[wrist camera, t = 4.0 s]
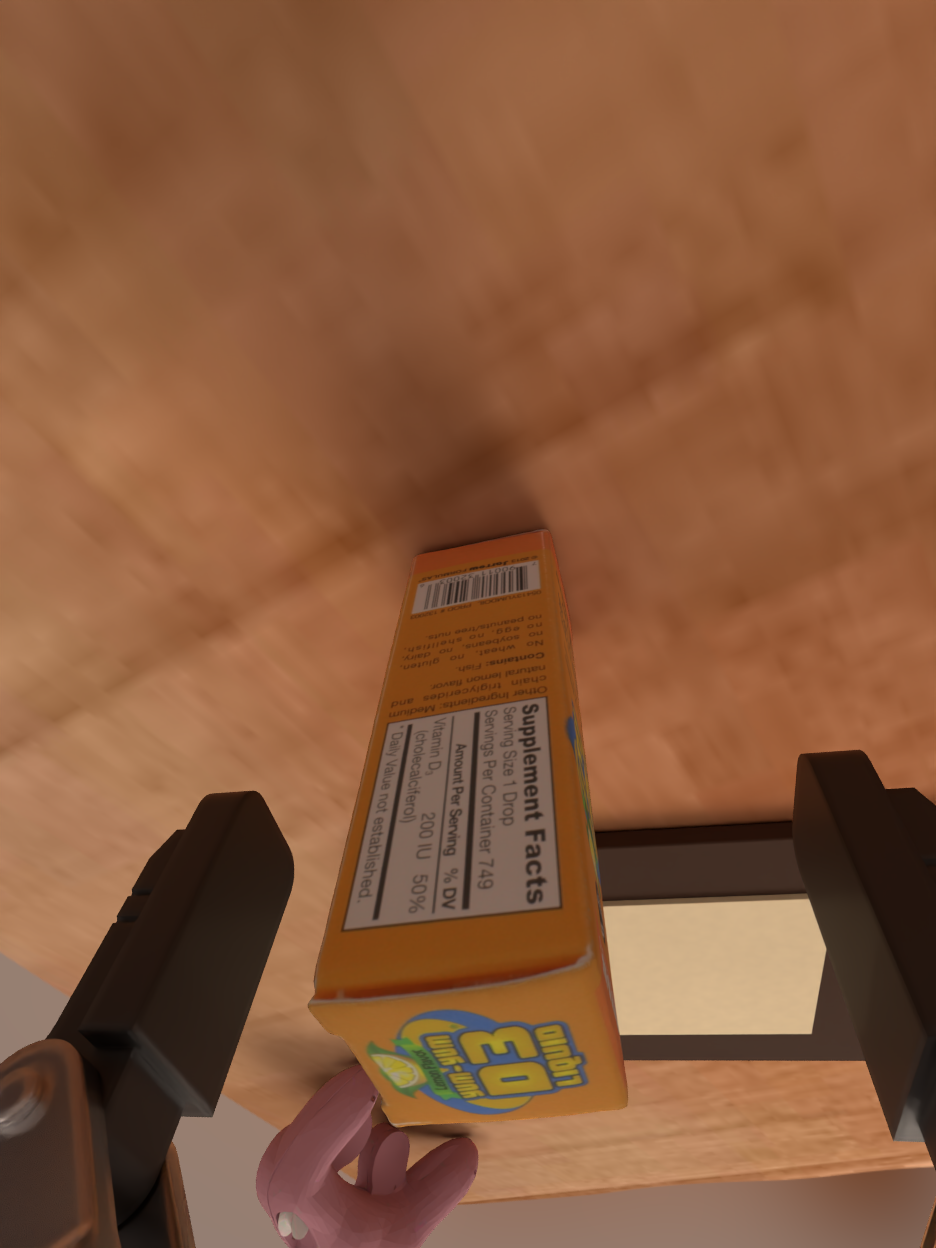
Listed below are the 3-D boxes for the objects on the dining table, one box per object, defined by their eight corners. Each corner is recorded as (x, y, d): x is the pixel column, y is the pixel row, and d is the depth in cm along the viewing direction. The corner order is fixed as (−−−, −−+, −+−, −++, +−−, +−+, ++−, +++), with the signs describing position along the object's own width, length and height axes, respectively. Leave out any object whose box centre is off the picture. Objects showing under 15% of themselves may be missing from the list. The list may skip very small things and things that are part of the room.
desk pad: (442, 1045, 29) (439, 1066, 28) (355, 845, 21) (350, 867, 21) (973, 1043, 25) (985, 1068, 24) (1079, 804, 18) (1100, 829, 17)
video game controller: (314, 1030, 32) (214, 1205, 28) (377, 1065, 29) (273, 1267, 25) (428, 1115, 36) (356, 1277, 32) (493, 1153, 33) (421, 1337, 29)
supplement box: (587, 640, 16) (639, 1137, 8) (448, 662, 17) (367, 1138, 9) (563, 516, 15) (597, 988, 6) (409, 545, 15) (260, 1006, 7)
